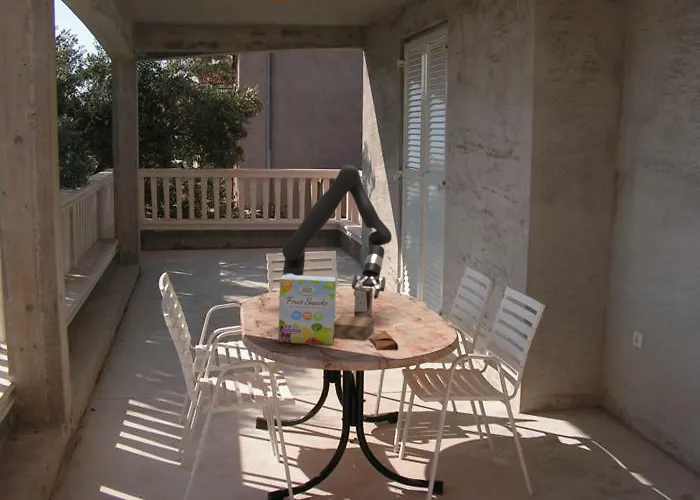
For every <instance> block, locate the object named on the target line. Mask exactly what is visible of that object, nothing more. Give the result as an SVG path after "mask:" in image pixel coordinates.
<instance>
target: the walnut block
mask: <svg viewBox="0 0 700 500" xmlns="http://www.w3.org/2000/svg"><path fill="white" fill-rule="evenodd" d="M374 332H375V318H374V317H372V318H367V317H355V316H354V315H340V316H339V317H338V318H337V319H335V324H334V339H335V338H336V339H346V340H357V341H367V340H368V339H369V337H370V336H371V335H372V334H373V333H374Z"/></svg>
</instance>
